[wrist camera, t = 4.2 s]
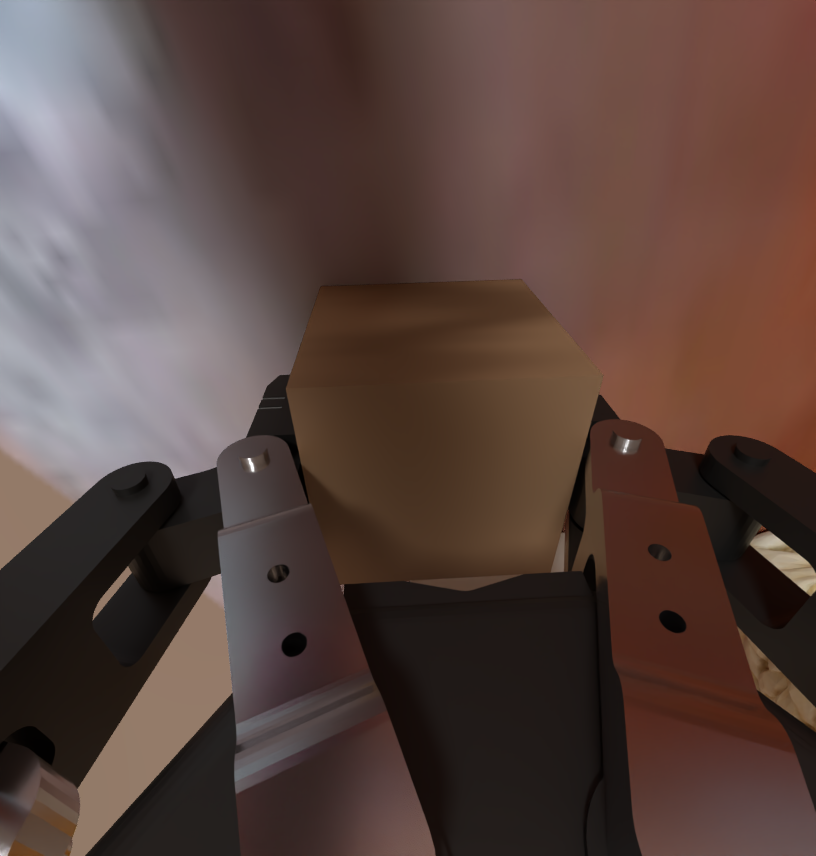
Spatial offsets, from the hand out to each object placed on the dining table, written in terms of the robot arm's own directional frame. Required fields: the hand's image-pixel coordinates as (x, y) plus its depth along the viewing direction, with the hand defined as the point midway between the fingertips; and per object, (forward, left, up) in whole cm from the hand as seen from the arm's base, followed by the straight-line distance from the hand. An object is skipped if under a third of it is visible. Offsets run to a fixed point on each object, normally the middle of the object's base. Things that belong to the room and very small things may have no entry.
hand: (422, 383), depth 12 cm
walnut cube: (0, 0, -1) cm, 1 cm away
